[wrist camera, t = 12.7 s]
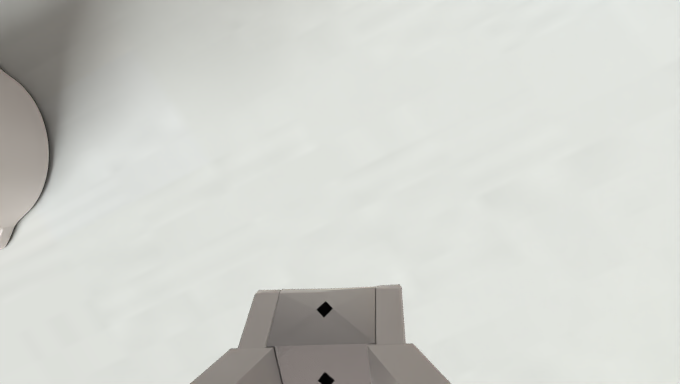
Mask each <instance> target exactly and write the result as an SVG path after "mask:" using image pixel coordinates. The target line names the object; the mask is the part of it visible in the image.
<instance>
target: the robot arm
mask: <svg viewBox="0 0 680 384" xmlns="http://www.w3.org/2000/svg"><path fill="white" fill-rule="evenodd" d="M48 163H49V147H48V138H47V133H46V129H45V125H44V122H43V119H42V116H41V114H40V111H39V109H38V107H37V105H36V104H35V102H34V100H33V99H32V97H31V96H30V94H29V93H28V92H27V91H26V90H25V89H24V87H23V86H22V85H20V84H19V83H18V82H17V81H16V80H15V79H13V78H12V77H10V76H9V75H7V74H6V73H5V72H3V71H2V70H1V69H0V250H1V249H3V248H4V247H5V246H6V245H7V243H8V241H9V239H10V236H11V234H12V232H13V229H14V226H15V225H16V223H17V222H18V221H19V220H20V219H21V218H22V217H23V216H24V215H25V214H26V213H27V212H28V211H29V210H30V209H31V208H32V207H33V206H34V204H35V203H36V201H37V199H38V198H39V196H40V194H41V191H42V189H43V186H44V183H45V180H46V176H47V171H48ZM190 384H451V383H450V382H449V381H448V380H447V379H446V378H445V377H444V376H443V375H442V374H441V372H440V371H439V370H438V369H437V368H436V367H435V366H434V365H433V364H432V363H431V362H430V361H429V360H428V359H427V358H426V357H425V356H424V355H423V354H422V352H421V351H420V350H419V349H418V348H417V347H416V346H415V345H414V344H406V342H405V329H404V315H403V301H402V288H401V286H400V284H398V285H382V286H374V287H353V288H331V289H282V290H259V291H258V292H257V293H256V294H255V295H254V299H253V302H252V305H251V308H250V311H249V314H248V317H247V321H246V324H245V327H244V330H243V333H242V336H241V340H240V343H239V346H238V348H235V349H230V350H229V351H227V352H226V353H225V354H224V355H223V356H222V357H220V358H219V359H218V360H217V361H216V362H215V363H213V364H212V365H211V366H210V367H209V368H208V369H207V370H205V371H204V372H203V373H202V374H201V375H200V376H198V377H197V378H196V379H195V380H194V381H193V382H191V383H190Z"/></svg>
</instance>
